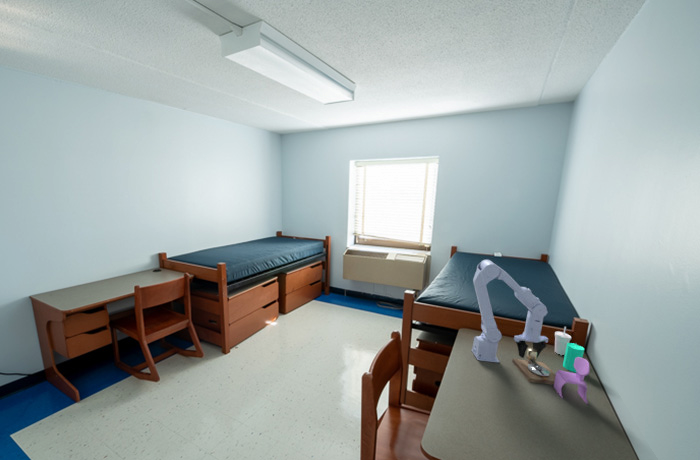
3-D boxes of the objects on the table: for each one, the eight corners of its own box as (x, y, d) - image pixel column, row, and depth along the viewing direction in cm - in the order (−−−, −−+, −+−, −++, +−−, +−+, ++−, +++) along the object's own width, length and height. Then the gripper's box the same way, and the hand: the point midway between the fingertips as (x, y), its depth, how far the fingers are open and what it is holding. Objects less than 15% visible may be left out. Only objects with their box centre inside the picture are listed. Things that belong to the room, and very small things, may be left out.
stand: (528, 381, 108) (529, 377, 108) (512, 361, 121) (512, 358, 121) (562, 385, 107) (563, 381, 107) (542, 365, 120) (543, 361, 120)
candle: (583, 373, 117) (589, 347, 115) (569, 372, 117) (574, 346, 115) (572, 364, 123) (577, 339, 121) (559, 363, 123) (564, 338, 121)
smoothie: (554, 355, 129) (560, 327, 127) (549, 348, 135) (554, 321, 133) (570, 358, 127) (576, 330, 126) (564, 351, 134) (569, 324, 132)
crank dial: (553, 378, 109) (555, 366, 108) (533, 374, 110) (535, 362, 109) (537, 360, 120) (539, 349, 120) (519, 357, 121) (521, 346, 121)
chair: (551, 384, 107) (558, 349, 105) (576, 390, 105) (584, 354, 103) (561, 399, 99) (569, 362, 97) (589, 406, 97) (598, 367, 95)
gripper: (541, 323, 122) (535, 351, 124) (511, 322, 120) (506, 351, 122) (554, 331, 115) (548, 361, 117) (522, 330, 113) (517, 360, 115)
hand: (527, 356), depth 119 cm, fingers open, 6 cm apart
